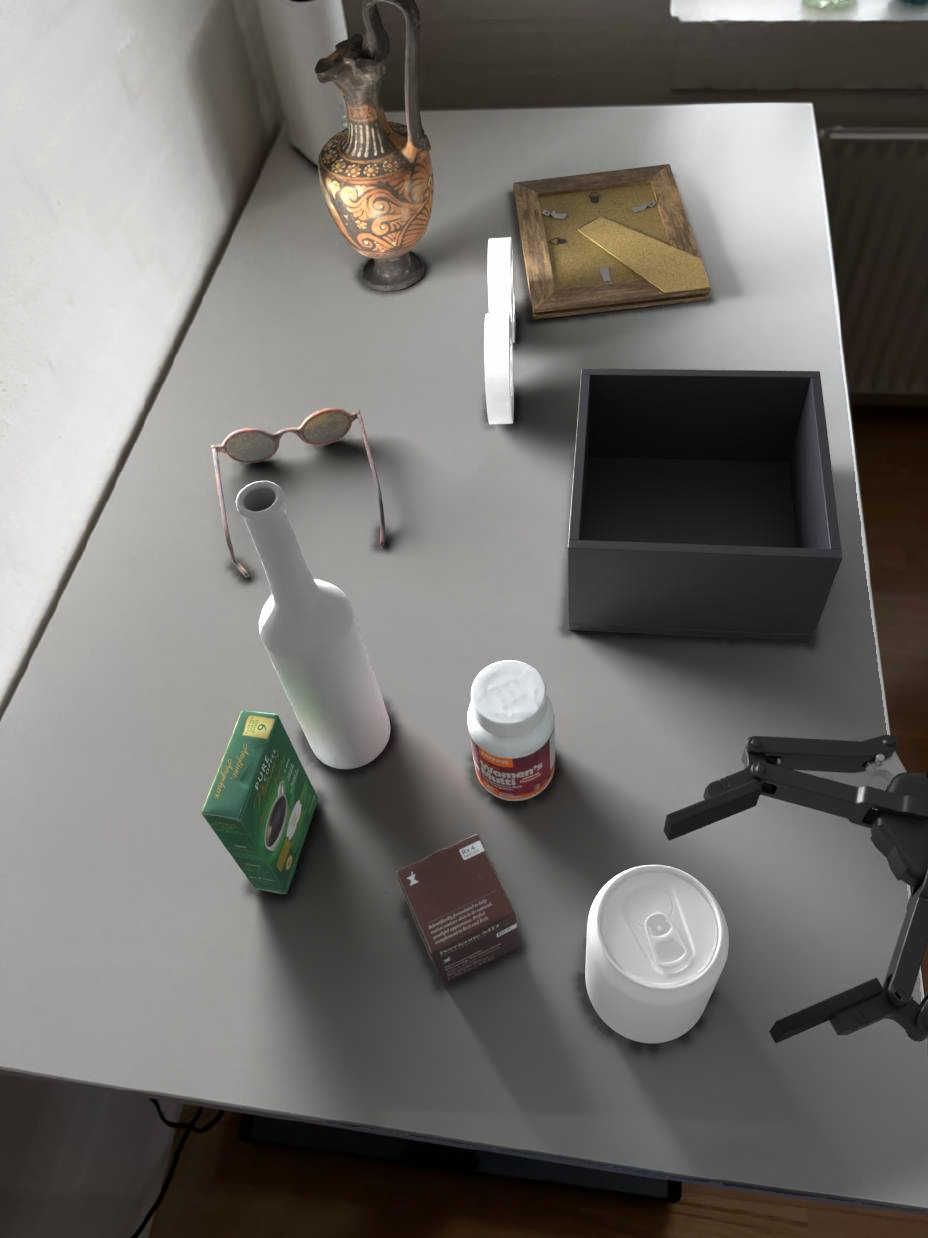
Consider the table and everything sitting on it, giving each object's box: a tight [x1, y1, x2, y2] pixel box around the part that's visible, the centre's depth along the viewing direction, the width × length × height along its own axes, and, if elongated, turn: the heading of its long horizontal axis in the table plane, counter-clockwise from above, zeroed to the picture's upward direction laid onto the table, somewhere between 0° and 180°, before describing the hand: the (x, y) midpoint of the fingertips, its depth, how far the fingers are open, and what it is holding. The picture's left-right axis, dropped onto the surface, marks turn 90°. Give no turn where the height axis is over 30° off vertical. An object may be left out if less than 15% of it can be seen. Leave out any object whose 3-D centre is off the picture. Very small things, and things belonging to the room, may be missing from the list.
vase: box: [314, 0, 435, 292], centre depth 99 cm, size 12×12×30 cm
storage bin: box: [567, 367, 844, 643], centre depth 82 cm, size 20×20×11 cm
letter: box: [483, 236, 516, 425], centre depth 97 cm, size 22×2×10 cm, turn 178°
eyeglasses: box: [210, 407, 386, 579], centre depth 91 cm, size 15×15×5 cm
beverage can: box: [584, 864, 730, 1044], centre depth 61 cm, size 8×8×12 cm
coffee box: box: [200, 709, 319, 895], centre depth 68 cm, size 8×3×13 cm, turn 168°
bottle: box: [235, 480, 392, 770], centre depth 67 cm, size 7×7×28 cm
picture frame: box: [512, 163, 712, 320], centre depth 110 cm, size 19×2×24 cm
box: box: [395, 833, 521, 984], centre depth 66 cm, size 6×6×7 cm
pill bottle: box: [466, 659, 556, 802], centre depth 71 cm, size 6×6×11 cm
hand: (717, 924), depth 61 cm, fingers open, 13 cm apart
